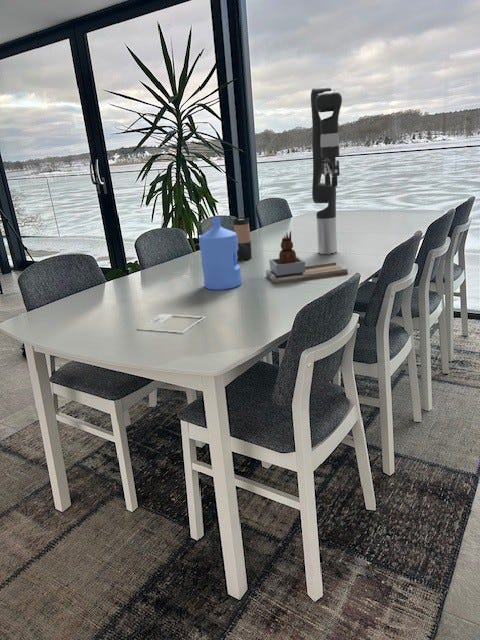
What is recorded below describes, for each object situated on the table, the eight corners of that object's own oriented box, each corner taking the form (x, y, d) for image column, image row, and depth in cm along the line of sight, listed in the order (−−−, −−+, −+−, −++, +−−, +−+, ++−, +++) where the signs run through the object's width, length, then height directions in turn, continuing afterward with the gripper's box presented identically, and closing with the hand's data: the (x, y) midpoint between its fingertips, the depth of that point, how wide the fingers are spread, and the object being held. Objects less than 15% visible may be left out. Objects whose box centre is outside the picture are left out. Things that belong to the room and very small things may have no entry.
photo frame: (161, 313, 176) (205, 316, 169) (161, 316, 177) (205, 319, 169) (136, 327, 164) (182, 331, 156) (136, 331, 164) (183, 335, 157)
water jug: (214, 293, 197) (205, 221, 188) (198, 285, 211) (190, 218, 201) (248, 285, 204) (242, 215, 194) (231, 278, 217) (224, 213, 208)
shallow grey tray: (270, 273, 213) (269, 259, 211) (297, 269, 215) (296, 256, 213) (277, 280, 202) (275, 265, 200) (305, 276, 203) (304, 261, 201)
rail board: (266, 276, 214) (266, 269, 213) (335, 267, 218) (335, 260, 217) (274, 284, 201) (273, 277, 200) (347, 274, 205) (347, 267, 204)
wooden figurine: (297, 265, 209) (295, 229, 204) (294, 269, 204) (292, 232, 199) (281, 265, 211) (279, 230, 206) (278, 269, 206) (276, 233, 201)
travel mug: (254, 257, 253) (251, 217, 246) (248, 260, 246) (244, 219, 240) (241, 257, 256) (237, 217, 250) (234, 260, 250) (230, 220, 243)
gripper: (315, 146, 212) (317, 186, 217) (326, 146, 198) (328, 188, 204) (332, 144, 213) (333, 184, 218) (344, 144, 199) (345, 186, 205)
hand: (331, 186), depth 211 cm, fingers open, 8 cm apart
